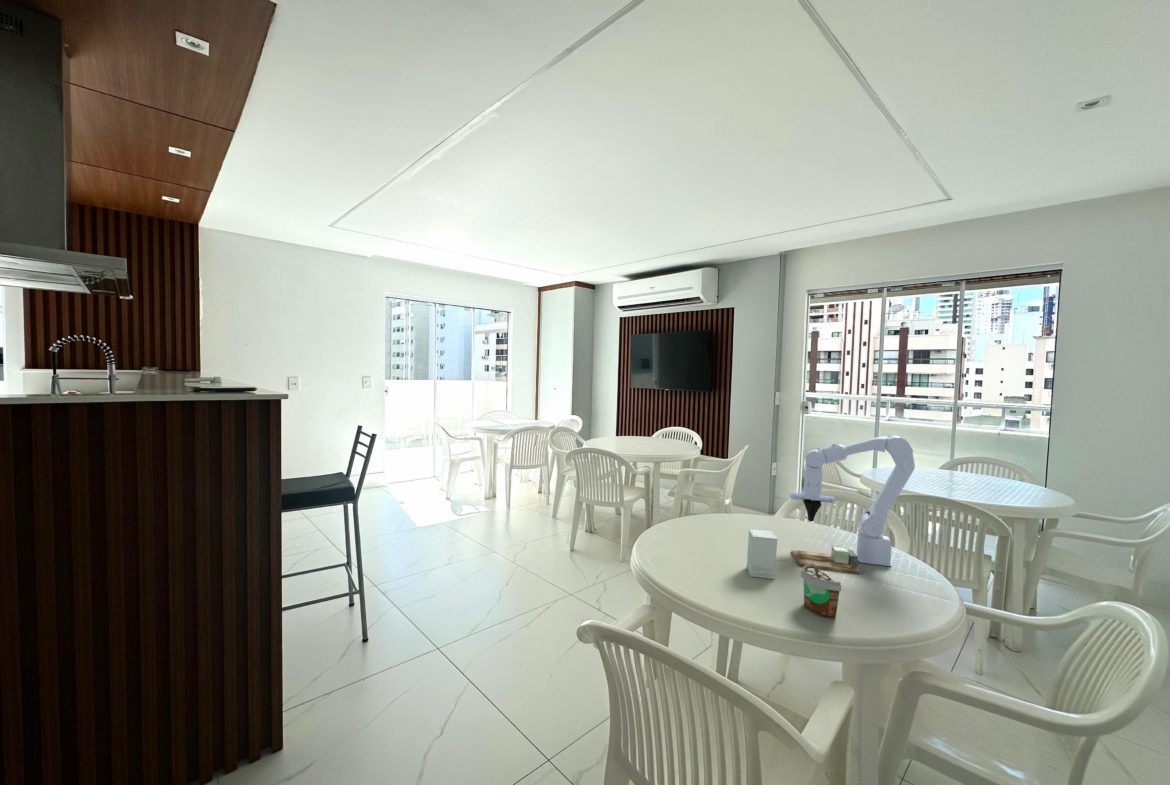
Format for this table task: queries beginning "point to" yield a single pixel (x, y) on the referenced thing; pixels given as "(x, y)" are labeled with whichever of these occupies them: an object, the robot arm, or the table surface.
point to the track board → (826, 561)
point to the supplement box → (762, 554)
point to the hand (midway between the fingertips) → (810, 520)
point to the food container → (820, 592)
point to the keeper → (840, 554)
